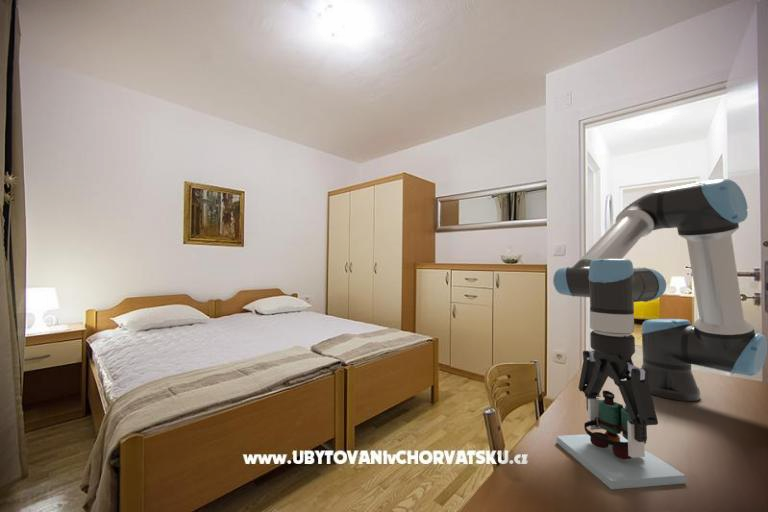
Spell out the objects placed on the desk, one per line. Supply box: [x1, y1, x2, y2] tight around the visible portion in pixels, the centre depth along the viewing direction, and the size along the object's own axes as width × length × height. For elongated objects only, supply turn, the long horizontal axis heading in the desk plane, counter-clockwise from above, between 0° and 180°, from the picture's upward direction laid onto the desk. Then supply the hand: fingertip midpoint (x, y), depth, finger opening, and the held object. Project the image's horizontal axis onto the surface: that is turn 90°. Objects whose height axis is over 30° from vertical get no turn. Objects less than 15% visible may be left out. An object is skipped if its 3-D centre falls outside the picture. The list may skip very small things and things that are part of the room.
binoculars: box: [583, 390, 647, 459], centre depth 65 cm, size 9×11×10 cm
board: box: [556, 433, 686, 490], centre depth 65 cm, size 15×15×2 cm
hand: (614, 441), depth 65 cm, fingers closed on binoculars, 9 cm apart
